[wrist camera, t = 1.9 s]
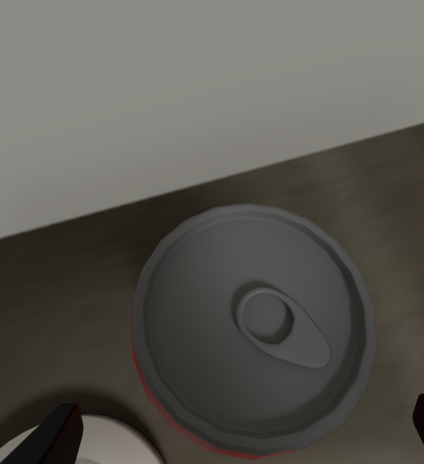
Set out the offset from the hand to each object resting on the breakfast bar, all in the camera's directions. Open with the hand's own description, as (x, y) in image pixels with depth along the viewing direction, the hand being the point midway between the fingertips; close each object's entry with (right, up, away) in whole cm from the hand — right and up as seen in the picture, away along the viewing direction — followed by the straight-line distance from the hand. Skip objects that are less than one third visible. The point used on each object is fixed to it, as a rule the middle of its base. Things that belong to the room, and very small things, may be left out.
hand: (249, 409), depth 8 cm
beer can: (0, -2, +10) cm, 10 cm away
